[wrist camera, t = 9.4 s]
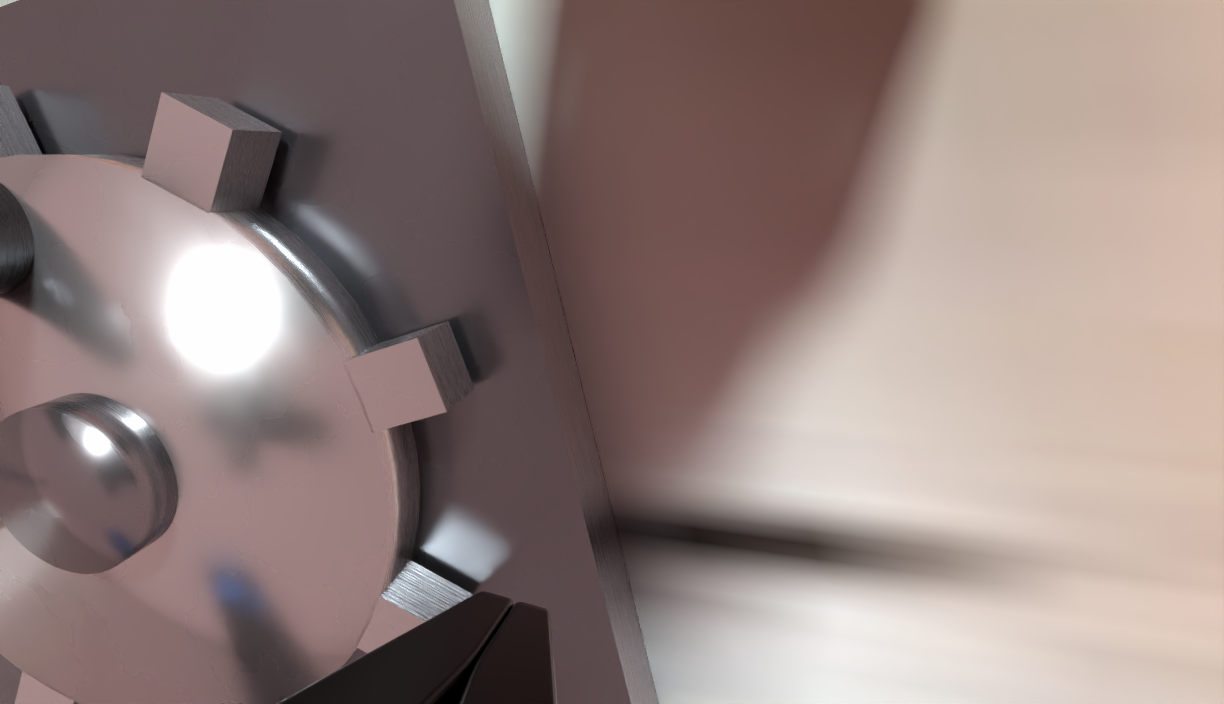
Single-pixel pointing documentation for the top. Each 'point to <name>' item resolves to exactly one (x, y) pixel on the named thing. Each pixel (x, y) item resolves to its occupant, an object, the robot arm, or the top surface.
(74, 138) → the index base
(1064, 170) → the top surface
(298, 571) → the sprocket
